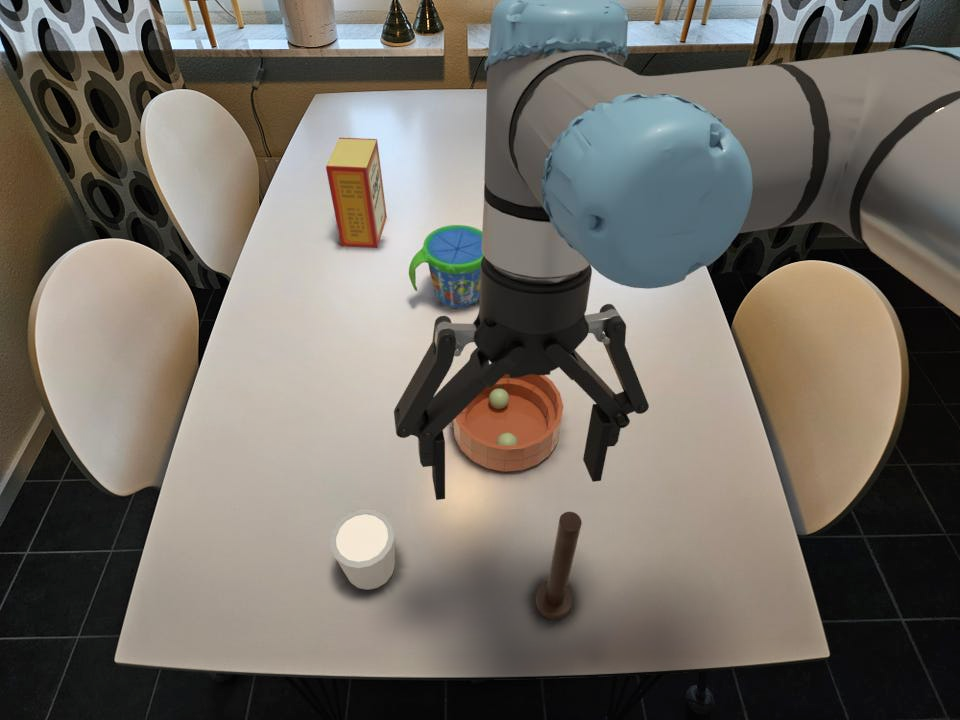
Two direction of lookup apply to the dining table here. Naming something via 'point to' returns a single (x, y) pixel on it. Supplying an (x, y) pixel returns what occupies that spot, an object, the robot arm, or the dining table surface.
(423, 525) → the dining table surface
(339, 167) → the baking soda box
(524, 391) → the bowl
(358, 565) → the white cup
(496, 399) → the bead
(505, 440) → the bead
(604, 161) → the robot arm
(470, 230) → the snack cup
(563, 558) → the stick
